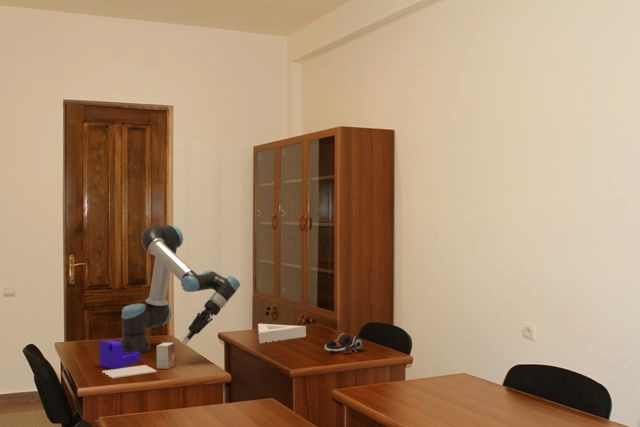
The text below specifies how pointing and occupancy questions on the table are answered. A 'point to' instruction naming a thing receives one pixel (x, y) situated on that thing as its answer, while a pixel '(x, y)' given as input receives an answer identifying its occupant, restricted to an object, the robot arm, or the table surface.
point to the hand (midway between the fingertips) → (182, 343)
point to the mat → (129, 371)
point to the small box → (165, 355)
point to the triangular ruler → (279, 332)
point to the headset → (345, 344)
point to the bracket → (116, 355)
